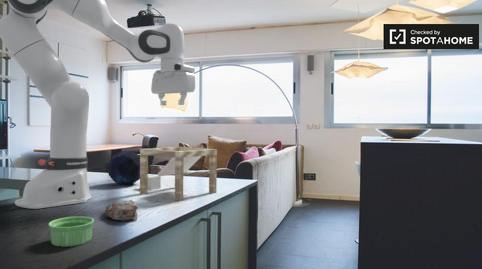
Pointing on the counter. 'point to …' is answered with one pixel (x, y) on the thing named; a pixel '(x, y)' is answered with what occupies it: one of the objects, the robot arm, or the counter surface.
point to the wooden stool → (178, 166)
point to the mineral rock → (122, 210)
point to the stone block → (154, 182)
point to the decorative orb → (124, 168)
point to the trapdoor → (170, 166)
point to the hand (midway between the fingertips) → (172, 105)
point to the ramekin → (71, 231)
